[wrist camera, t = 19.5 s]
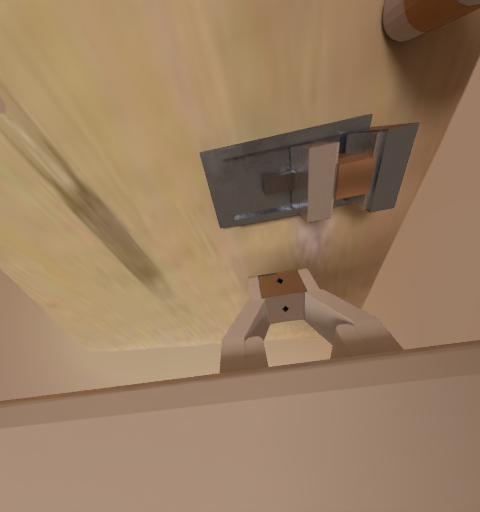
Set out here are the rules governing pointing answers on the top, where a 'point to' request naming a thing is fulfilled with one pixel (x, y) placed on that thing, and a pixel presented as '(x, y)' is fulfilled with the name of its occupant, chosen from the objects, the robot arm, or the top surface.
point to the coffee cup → (422, 16)
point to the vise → (279, 160)
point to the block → (353, 175)
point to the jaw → (308, 179)
